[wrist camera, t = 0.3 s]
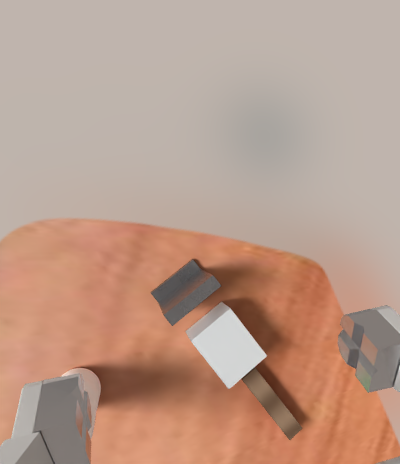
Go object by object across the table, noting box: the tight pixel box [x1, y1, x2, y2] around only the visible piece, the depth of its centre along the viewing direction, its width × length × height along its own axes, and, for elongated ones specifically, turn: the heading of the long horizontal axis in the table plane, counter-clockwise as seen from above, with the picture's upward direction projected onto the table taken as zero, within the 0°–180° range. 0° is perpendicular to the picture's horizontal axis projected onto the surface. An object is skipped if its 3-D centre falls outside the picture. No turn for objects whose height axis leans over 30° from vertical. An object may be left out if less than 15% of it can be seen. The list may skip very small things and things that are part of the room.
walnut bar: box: [241, 367, 302, 440], centre depth 67 cm, size 14×3×3 cm, turn 38°
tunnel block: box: [185, 302, 267, 389], centre depth 63 cm, size 10×8×6 cm
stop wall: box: [151, 259, 221, 326], centre depth 60 cm, size 4×9×11 cm, turn 128°
